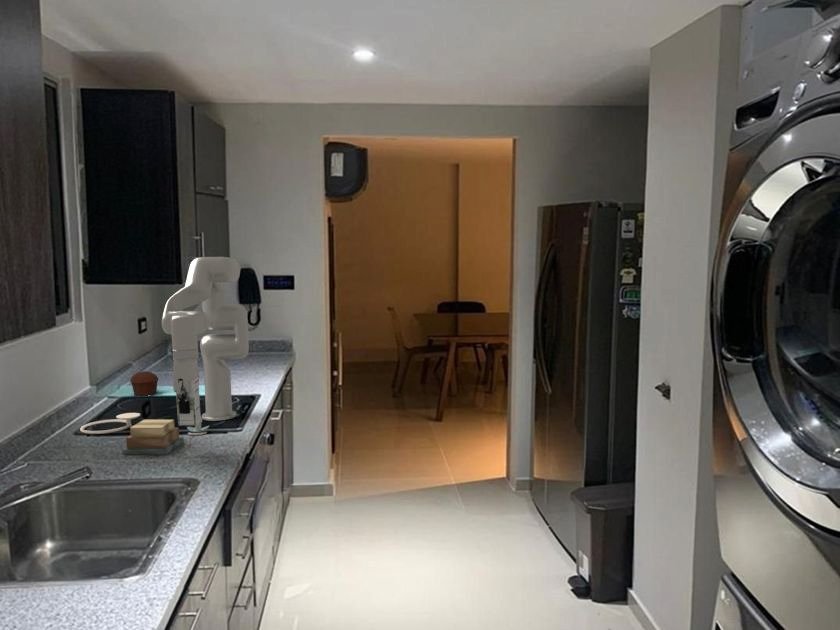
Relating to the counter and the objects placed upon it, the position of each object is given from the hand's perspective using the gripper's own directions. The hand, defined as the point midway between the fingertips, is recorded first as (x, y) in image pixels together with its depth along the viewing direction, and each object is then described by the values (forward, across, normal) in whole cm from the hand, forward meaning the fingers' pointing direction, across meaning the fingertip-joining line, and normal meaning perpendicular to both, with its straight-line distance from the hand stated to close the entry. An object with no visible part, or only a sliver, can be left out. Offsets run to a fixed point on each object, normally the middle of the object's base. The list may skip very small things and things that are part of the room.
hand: (188, 410), depth 222 cm
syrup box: (+5, 0, 0) cm, 5 cm away
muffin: (+16, -81, -52) cm, 97 cm away
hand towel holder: (+15, -28, -40) cm, 51 cm away
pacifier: (+14, -21, -6) cm, 26 cm away
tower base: (+14, -4, -14) cm, 20 cm away
